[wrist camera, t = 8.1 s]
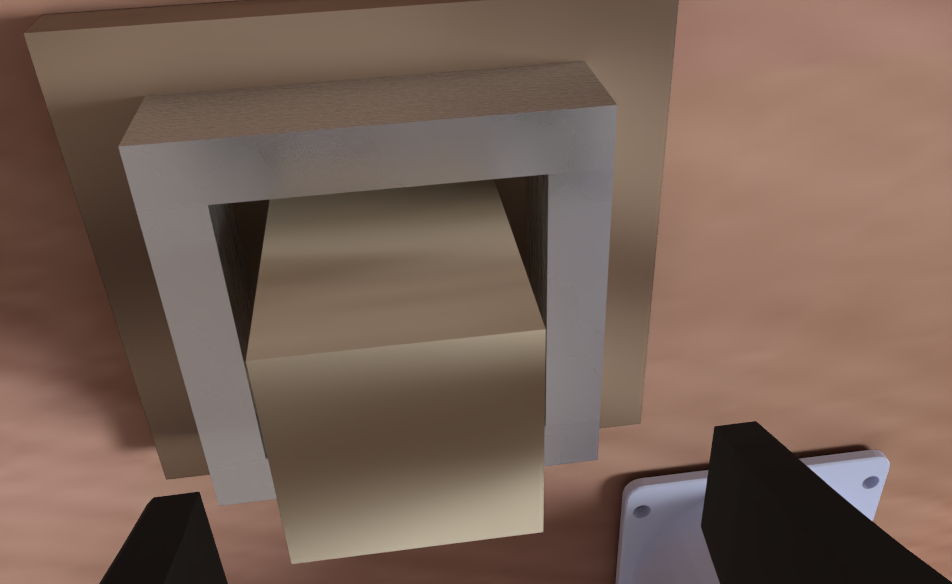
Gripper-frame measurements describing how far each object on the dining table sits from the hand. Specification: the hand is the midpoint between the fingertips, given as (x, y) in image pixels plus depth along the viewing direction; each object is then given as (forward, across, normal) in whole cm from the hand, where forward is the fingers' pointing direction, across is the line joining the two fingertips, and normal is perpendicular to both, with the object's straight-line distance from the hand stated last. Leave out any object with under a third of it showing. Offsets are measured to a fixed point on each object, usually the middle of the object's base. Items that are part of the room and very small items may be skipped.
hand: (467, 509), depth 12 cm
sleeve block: (+8, +1, 0) cm, 8 cm away
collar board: (+9, +1, 0) cm, 9 cm away
